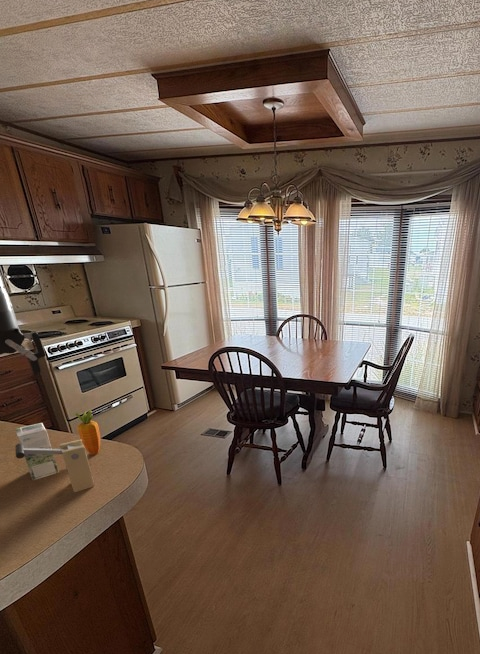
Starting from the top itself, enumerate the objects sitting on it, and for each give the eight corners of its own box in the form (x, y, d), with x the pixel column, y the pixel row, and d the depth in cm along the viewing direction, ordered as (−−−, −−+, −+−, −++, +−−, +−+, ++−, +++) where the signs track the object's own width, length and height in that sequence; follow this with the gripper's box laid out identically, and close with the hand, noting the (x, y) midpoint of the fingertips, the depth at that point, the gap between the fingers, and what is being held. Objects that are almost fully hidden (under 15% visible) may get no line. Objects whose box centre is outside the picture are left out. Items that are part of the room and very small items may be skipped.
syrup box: (56, 467, 96) (42, 421, 91) (60, 476, 93) (45, 429, 87) (30, 475, 93) (14, 427, 87) (34, 485, 89) (16, 435, 83)
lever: (14, 460, 75) (16, 450, 74) (14, 451, 78) (16, 441, 78) (81, 460, 83) (83, 451, 83) (78, 452, 87) (80, 443, 87)
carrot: (81, 460, 100) (68, 413, 94) (94, 451, 105) (83, 406, 99) (96, 462, 99) (84, 415, 94) (109, 453, 104) (98, 408, 98)
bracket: (67, 501, 83) (52, 456, 78) (63, 487, 88) (50, 444, 83) (104, 489, 88) (93, 446, 83) (99, 476, 93) (88, 435, 88)
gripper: (30, 305, 83) (49, 369, 89) (-54, 308, 74) (-27, 379, 80) (32, 309, 77) (52, 376, 84) (-58, 313, 69) (-29, 388, 75)
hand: (13, 377), depth 82 cm, fingers open, 8 cm apart
